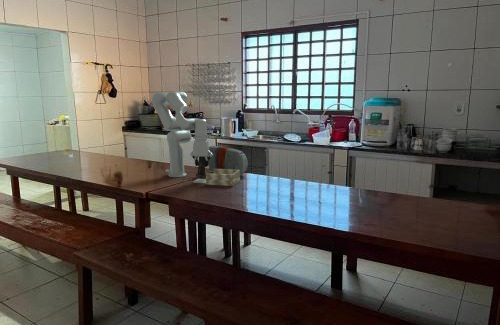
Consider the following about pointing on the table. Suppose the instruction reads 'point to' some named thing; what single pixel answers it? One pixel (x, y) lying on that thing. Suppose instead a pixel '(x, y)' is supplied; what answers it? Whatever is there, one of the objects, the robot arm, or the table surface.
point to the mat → (200, 181)
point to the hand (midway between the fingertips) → (201, 165)
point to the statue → (201, 167)
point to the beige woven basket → (223, 177)
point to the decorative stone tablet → (227, 159)
